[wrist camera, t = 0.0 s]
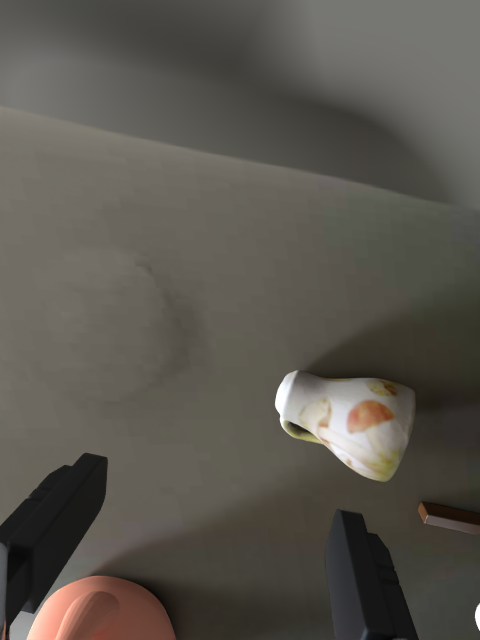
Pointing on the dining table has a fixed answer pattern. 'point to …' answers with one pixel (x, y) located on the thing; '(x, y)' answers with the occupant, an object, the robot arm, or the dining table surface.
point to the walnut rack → (450, 518)
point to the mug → (350, 418)
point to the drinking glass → (478, 616)
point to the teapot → (102, 613)
